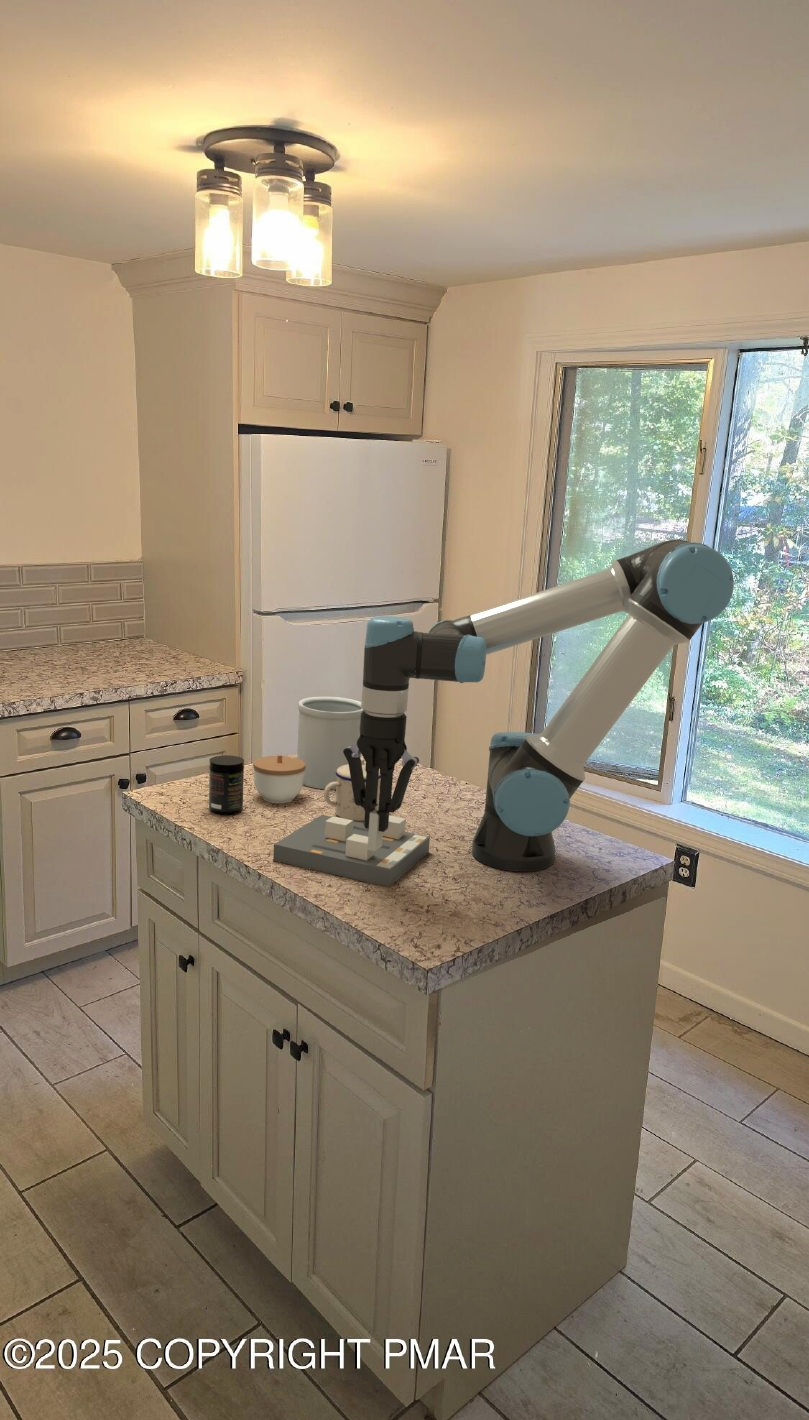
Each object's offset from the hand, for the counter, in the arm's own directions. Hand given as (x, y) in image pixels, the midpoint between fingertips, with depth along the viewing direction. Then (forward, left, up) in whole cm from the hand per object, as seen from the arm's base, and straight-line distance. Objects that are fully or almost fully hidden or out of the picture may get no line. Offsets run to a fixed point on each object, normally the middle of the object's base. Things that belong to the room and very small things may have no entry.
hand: (374, 847), depth 164 cm
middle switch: (+10, -6, -2) cm, 12 cm away
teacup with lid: (+17, -26, -5) cm, 31 cm away
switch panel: (+7, -6, -5) cm, 10 cm away
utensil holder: (+31, -44, -5) cm, 54 cm away
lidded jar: (+34, -27, -5) cm, 43 cm away
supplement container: (+39, -15, -5) cm, 42 cm away
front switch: (+3, 0, -2) cm, 3 cm away
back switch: (+2, -12, -2) cm, 13 cm away
